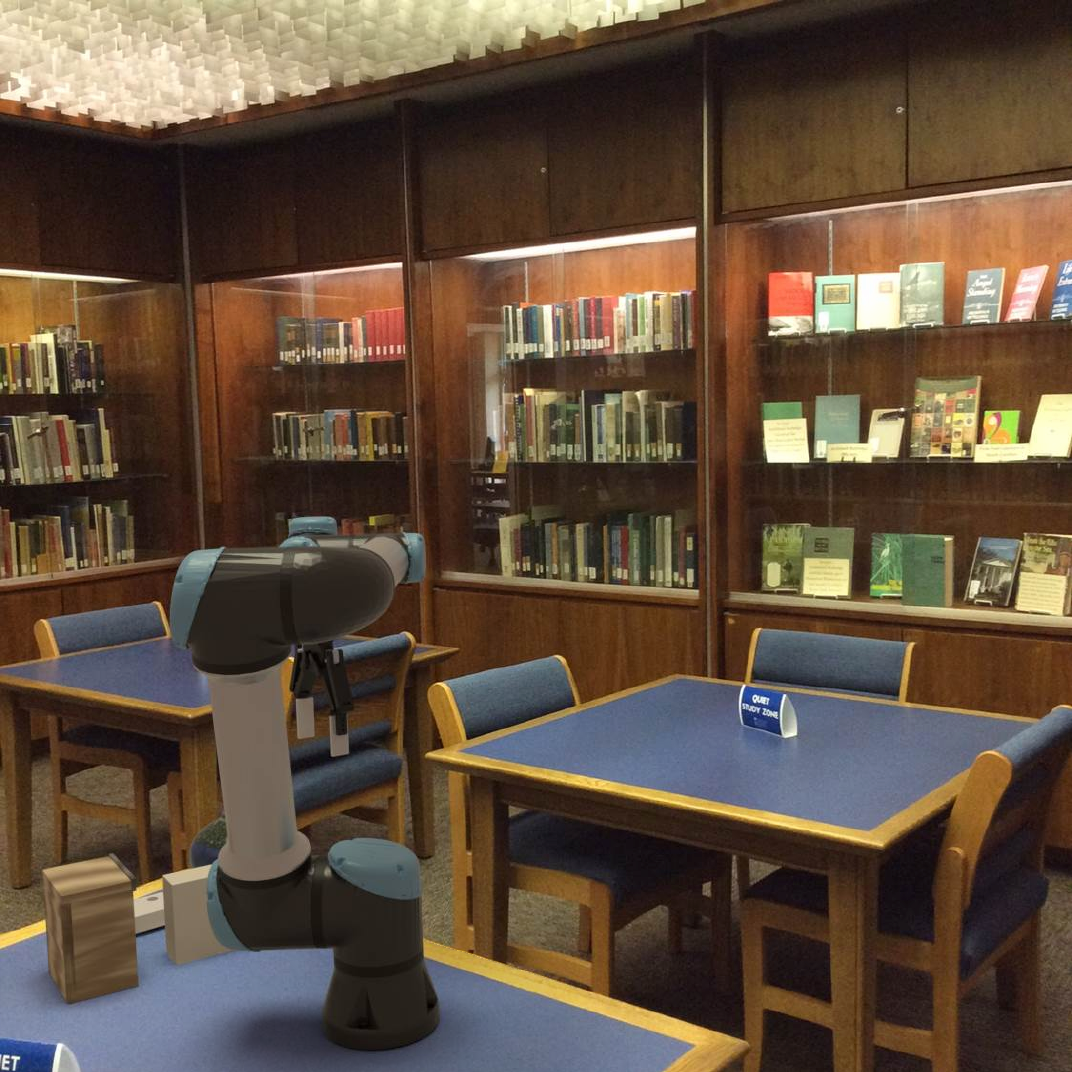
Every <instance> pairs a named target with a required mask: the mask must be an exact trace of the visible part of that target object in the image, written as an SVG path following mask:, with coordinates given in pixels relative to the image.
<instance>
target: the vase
mask: <svg viewBox="0 0 1072 1072" xmlns="http://www.w3.org/2000/svg"><path fill="white" fill-rule="evenodd" d="M227 842H228V836H227V828H226V820H225V811H224V810H222V812H221V816H220V817H218V818H216V819H215V820H213V821H211V822H210V823H209V824H207V825H205V826H204V827H203V828H202V829H201V830H199V831H198V833H196V835H195V836H194V838H193V840H192V842H191V845H190V847H189V850H188V859H189V865H190V866H189V867H190V869H193V868H198V867H202V866H207V865H212V864H213V862H214V861H215V860H217V859H218V855H219V852H220V850H221V849H222V847H223V846H224V845H225V844H226V843H227Z"/></svg>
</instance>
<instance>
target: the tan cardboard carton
mask: <svg viewBox="0 0 1072 1072" xmlns="http://www.w3.org/2000/svg"><path fill="white" fill-rule="evenodd" d="M210 867H211V865H207V866H202V867H198V868H193V869H191V868H189V869H184V870H180V871H175V872H171V873H165V874H163V875H162V877H161V879H162V892H163V900H164V919H165V925H164V933H165V935H164V937H165V951H166V952H165V953H166V955H167V956H168V957H169V958H170V960H171V961H172V962H173V963H174V964H175V965H176V966H178V965H182V964H186V963H190V962H194V961H197V960H201V959H206V958H209V956H210V957H214V956H217V954H218V955H220V954H224V953H228V952H233V951H234V950H230V949H228V948H225V947H224V946H222V945H221V944H220V943H219V942H218V941H217V939H216V937H215V936H214V934H213V931H212V928H211V925H210V921H209V917H208V912H207V900H208V896H207V893H206V887H207V878H208V873H209V870H210Z"/></svg>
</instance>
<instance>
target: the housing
mask: <svg viewBox="0 0 1072 1072" xmlns="http://www.w3.org/2000/svg"><path fill="white" fill-rule="evenodd" d="M41 872H42V874H41V875H42V888H43V902H44V905H43V906H44V920H45V934H46V949H47V950H46V951H47V965H48V967H47V969H48V973H49V975H50V976H51V978H52V980H53V982H54V983H55V985H56V986H57V989H58V990H59V992H60V993H61V995H62V996H63V998H64V1000H65V1002H66V1003H67V1005H71V1004H75V1003H78V1002H83V1001H86V1000H90V999H94V998H97V997H100V996H101V997H102V996H105V995H108V994H112V993H116V992H121V991H124V990H128V989H132V988H135V987H139V973H138V972H139V971H138V954H137V953H138V951H137V938H136V937H137V936H136V932H135V915H134V900H135V899H134V892H137V878H136V877H135V875H134V874H133V873H132V872H131V871H130V870H129V869H128V868H127V867H126V866H125V865H124V864H123V863H122V861H120V859H119V858H118V857H117V856H116V855H115V854H114V853H113V852H112V853H108V856H102V857H98V858H93V859H88V860H83V861H78V862H73V863H69V864H63V865H59V866H54V867H49V868H45V869H42V870H41Z"/></svg>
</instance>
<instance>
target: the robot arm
mask: <svg viewBox="0 0 1072 1072" xmlns="http://www.w3.org/2000/svg"><path fill="white" fill-rule="evenodd" d="M288 531H289V533H288V535H287V536H288V538H287V539H285V540H284V541H283V542H281V543H280V545H279V546H273V547H272V546H269V547H267V546H266V547H264V546H263V547H227V546H221V547H220V548H212V549H211V548H209V549H197V550H194V551H192V552H190V553H189V554H187V555H186V556H185V557H184V558H183V560H182V561H181V563H180V565H179V566H178V569H177V570H176V575H175V578H174V583H173V586H172V593H171V597H170V606H169V607H170V608H169V630H170V631H169V632H170V638H171V640H172V642H173V645H174V646H175V647H176V648H179V649H182V650H185V651H186V650H188V649H190V651H191V660H192V667H194V669H195V670H196V672H197V671H198V672H199V673H201V674H202V675H204V676H206V677H207V681H208V689H209V697H210V706H211V714H212V720H213V722H212V723H213V729H214V738H215V745H216V746H215V748H216V754H217V761H218V770H219V771H218V772H219V778H220V779H219V780H220V787H221V795H222V801H223V802H222V803H223V811H225V820H226V828H227V836H228V842H227V843H226V844H225V845H224V846H223V847H222V849H221V850H220V852H219V855H218V859H217V860H215V861H214V862H213V864H212V865H211V867H210V870H209V873H208V878H207V887H206V893H207V896H208V900H207V912H208V917H209V921H210V925H211V928H212V931H213V934H214V936H215V937H216V939H217V941H218V942H219V943H220V944H221V945H222V946H224V947H225V948H228V949H230V950H233V951H247V952H253V953H259V952H261V951H283V950H285V951H286V950H287V951H289V950H291V951H292V950H295V951H296V950H321V949H322V950H323V949H324V950H325V949H330V950H331V949H332V952H333V971H332V975H331V976H330V977H331V978H330V981H329V985H328V989H327V992H326V996H325V998H324V1003H323V1007H322V1014H321V1017H322V1018H321V1019H322V1021H321V1022H322V1032H323V1033H324V1035H325V1037H326V1038H328V1039H329V1040H330V1041H331V1042H333V1043H334V1044H337V1045H339V1046H343V1047H345V1048H349V1049H354V1050H365V1051H377V1050H379V1051H380V1050H387V1049H388V1050H389V1049H394V1048H399V1047H403V1046H406V1045H409V1044H412V1043H415V1042H417V1041H419V1040H421V1039H423V1038H424V1037H426V1036H428V1035H430V1034H431V1033H432V1032H433V1031H434V1030H435V1029H436V1027H437V1026H438V1024H439V1022H440V1001H439V997H438V994H437V992H436V989H435V985H434V984H433V983H434V982H433V980H432V978H431V974H430V973H429V969H428V968H427V965H426V962H425V950H424V927H423V926H424V924H423V899H422V898H423V897H422V896H423V893H424V885H423V883H422V875H421V864H420V861H419V858H418V857H417V855H416V853H415V852H413V850H411V849H410V848H408V847H406V846H404V845H403V844H400V843H399V842H395V841H391V840H388V839H382V838H374V837H356V838H353V839H351V840H350V839H344V840H341V841H338V842H336V843H335V844H333V845H332V846H331V848H330V850H329V852H327V854H324V855H312V848H311V843H310V840H309V838H308V836H306V835H305V834H304V833H302V832H301V831H299V830H298V829H297V819H296V810H295V809H296V808H295V807H296V806H295V800H294V790H293V780H292V770H291V769H292V768H291V760H290V751H289V741H288V730H287V722H286V721H287V720H286V711H285V701H284V693H283V682H282V681H283V680H282V673H281V672H282V671H281V667H282V666H283V665H284V664H285V663H286V662H287V661H288V660H289V659H290V657H291V655H292V646H294V656H293V662H292V669H291V675H290V682H289V688H288V689H289V691H290V693H293V697H294V699H295V711H296V731H297V732H296V733H297V735H296V736H297V739H299V740H300V739H308V738H312V737H313V738H314V737H316V736H315V734H316V733H315V712H314V697H313V696H315V694H314V691H313V688H314V685H315V682H316V679H319V680H320V681H321V684H322V688H323V691H324V693H325V696H326V699H327V702H328V705H329V707H330V710H329V711H328V713H327V715H328V717H329V736H330V737H329V739H330V742H329V743H330V745H329V746H330V756H331V757H339V756H344V755H349V754H350V747H349V745H350V744H349V742H350V741H349V722H348V718H349V716H348V714H349V713H350V712H354V710H355V705H354V701H353V697H352V692H351V688H350V683H349V680H348V679H349V678H348V674H347V669H346V667H345V666H346V665H345V659H344V650H343V649H342V648H338V649H334V641H335V640H339V639H340V638H344V637H346V636H348V635H350V634H353V633H355V632H357V631H359V630H363V629H364V628H366V627H367V626H370V625H371V624H372V623H375V622H376V621H377V620H378V619H379V618H380V617H381V616H383V615H384V613H386V612H387V610H388V608H390V605H391V604H392V601H393V599H394V596H395V591H396V587H397V586H398V585H399V584H403V585H409V583H410V584H412V583H421V582H422V581H424V579H425V578H426V570H427V554H426V553H427V551H426V541H425V538H424V536H423V535H422V534H421V533H419V532H418V533H417V532H404V531H400V532H395V533H394V532H393V533H392V532H391V533H366V534H365V533H364V534H363V533H361V534H356V533H355V534H354V533H353V534H349V533H348V534H338V525H337V520H336V519H335V518H334V517H331V516H304V517H303V516H302V517H295V518H292V519H291V520H290V522H289V528H288Z"/></svg>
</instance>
